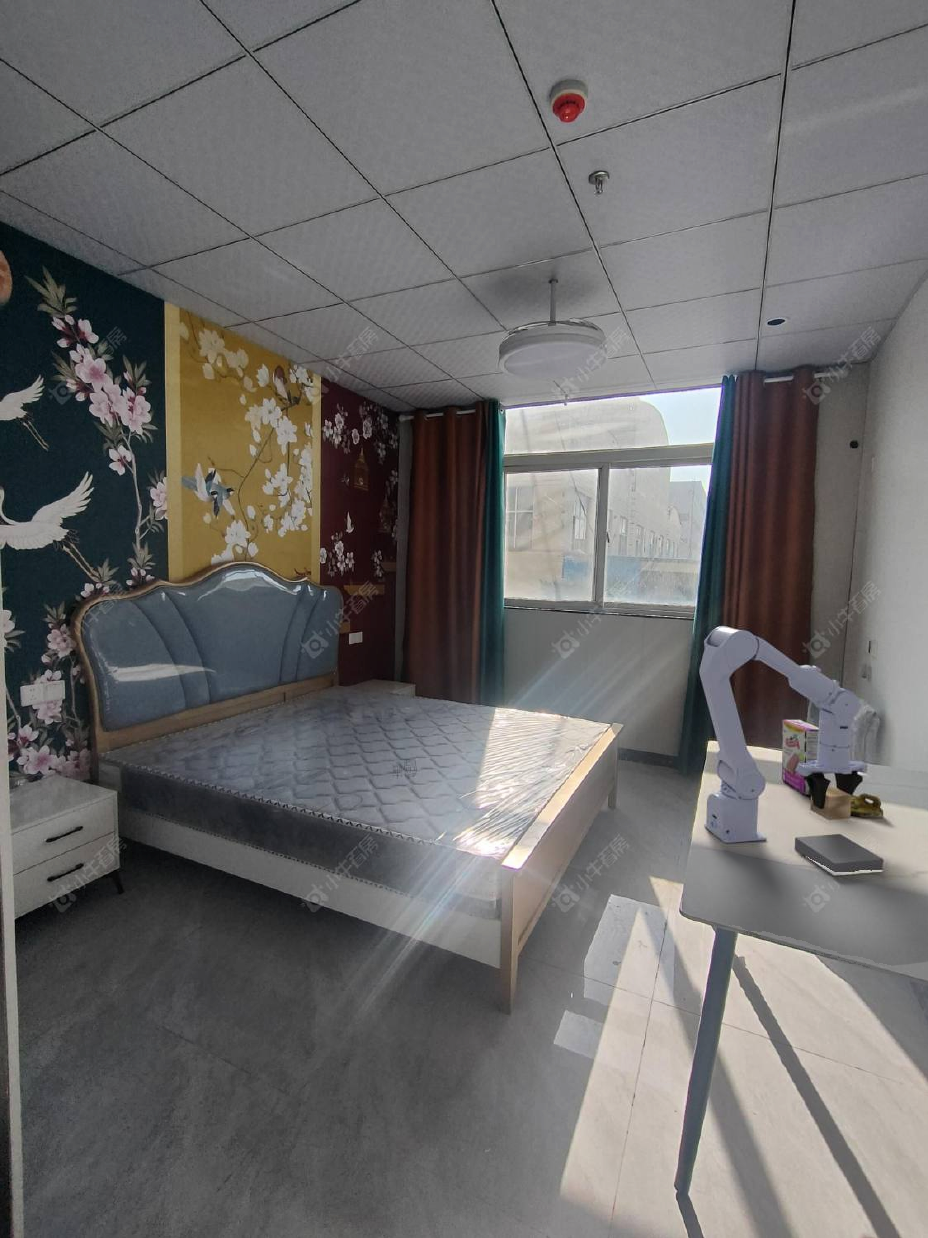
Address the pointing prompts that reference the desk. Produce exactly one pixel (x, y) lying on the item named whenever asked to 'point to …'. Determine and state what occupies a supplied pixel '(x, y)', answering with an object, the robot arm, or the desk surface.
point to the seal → (865, 806)
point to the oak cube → (834, 805)
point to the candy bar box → (798, 751)
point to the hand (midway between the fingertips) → (830, 806)
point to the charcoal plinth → (838, 853)
